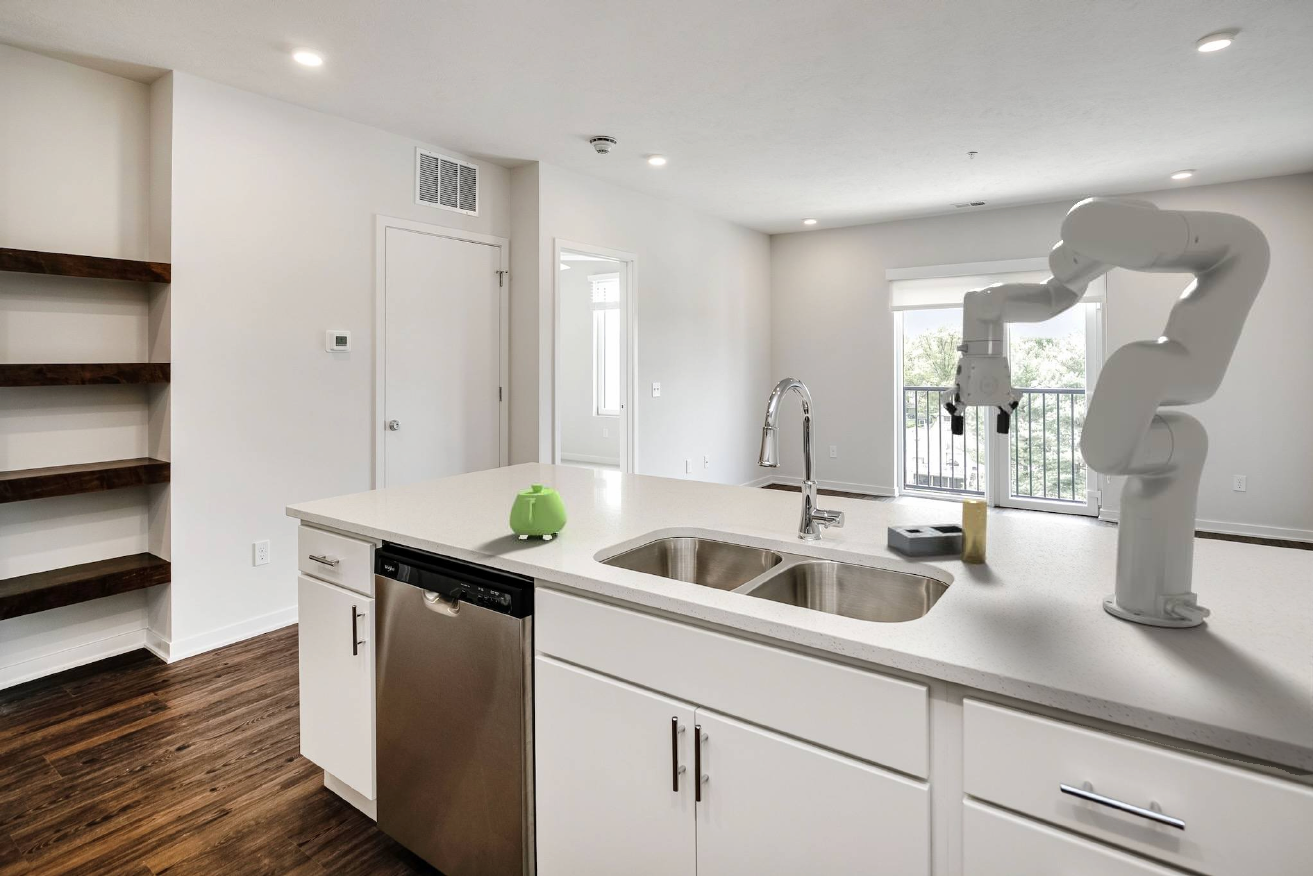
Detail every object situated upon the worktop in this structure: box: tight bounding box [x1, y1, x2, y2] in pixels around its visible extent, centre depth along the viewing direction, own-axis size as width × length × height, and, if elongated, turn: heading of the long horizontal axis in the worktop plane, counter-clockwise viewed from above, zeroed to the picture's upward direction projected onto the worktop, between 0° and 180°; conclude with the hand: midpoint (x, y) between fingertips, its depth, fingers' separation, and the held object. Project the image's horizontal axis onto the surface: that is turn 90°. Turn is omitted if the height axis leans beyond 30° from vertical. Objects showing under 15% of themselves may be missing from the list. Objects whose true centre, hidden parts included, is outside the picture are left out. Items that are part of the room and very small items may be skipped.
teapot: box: [509, 483, 568, 536], centre depth 165 cm, size 20×13×13 cm
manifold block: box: [887, 523, 962, 558], centre depth 146 cm, size 10×16×4 cm, turn 96°
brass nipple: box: [960, 499, 988, 565], centre depth 136 cm, size 4×4×12 cm
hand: (980, 434), depth 141 cm, fingers open, 9 cm apart
